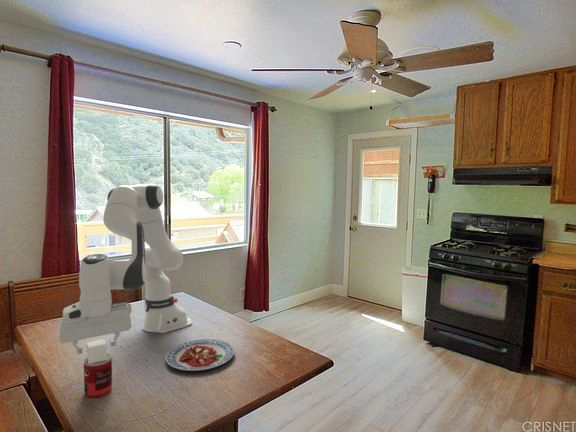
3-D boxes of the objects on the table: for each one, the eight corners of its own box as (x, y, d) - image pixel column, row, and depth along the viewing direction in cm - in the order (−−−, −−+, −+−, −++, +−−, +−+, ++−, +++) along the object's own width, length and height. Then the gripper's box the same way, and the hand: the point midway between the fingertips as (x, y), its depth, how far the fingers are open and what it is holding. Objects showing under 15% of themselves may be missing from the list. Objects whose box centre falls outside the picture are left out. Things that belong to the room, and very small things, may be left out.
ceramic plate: (150, 367, 128) (150, 359, 127) (193, 339, 152) (193, 333, 151) (209, 382, 118) (209, 373, 118) (245, 350, 142) (245, 343, 142)
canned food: (91, 385, 114) (90, 353, 114) (116, 384, 115) (115, 352, 114) (79, 398, 107) (78, 364, 106) (106, 398, 108) (105, 363, 107)
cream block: (104, 353, 113) (104, 339, 113) (106, 359, 109) (106, 344, 109) (86, 357, 111) (86, 342, 110) (88, 364, 106) (88, 348, 106)
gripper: (129, 298, 118) (129, 338, 118) (57, 309, 106) (58, 353, 107) (133, 303, 112) (133, 345, 113) (58, 315, 101) (59, 361, 101)
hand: (96, 349), depth 110 cm, fingers open, 8 cm apart
